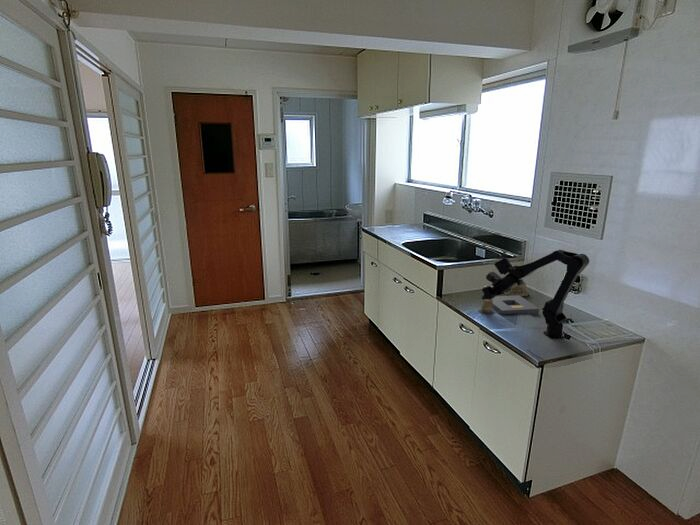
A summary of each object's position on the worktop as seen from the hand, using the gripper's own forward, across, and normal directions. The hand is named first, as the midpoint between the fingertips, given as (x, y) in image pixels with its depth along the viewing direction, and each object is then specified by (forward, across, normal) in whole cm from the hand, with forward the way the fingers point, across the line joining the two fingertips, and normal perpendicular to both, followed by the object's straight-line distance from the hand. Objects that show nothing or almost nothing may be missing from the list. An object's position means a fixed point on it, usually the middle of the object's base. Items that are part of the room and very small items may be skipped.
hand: (485, 297), depth 202 cm
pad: (+5, 0, +7) cm, 8 cm away
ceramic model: (+9, -40, +3) cm, 41 cm away
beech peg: (+4, 0, +6) cm, 7 cm away
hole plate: (+2, -16, +10) cm, 19 cm away
